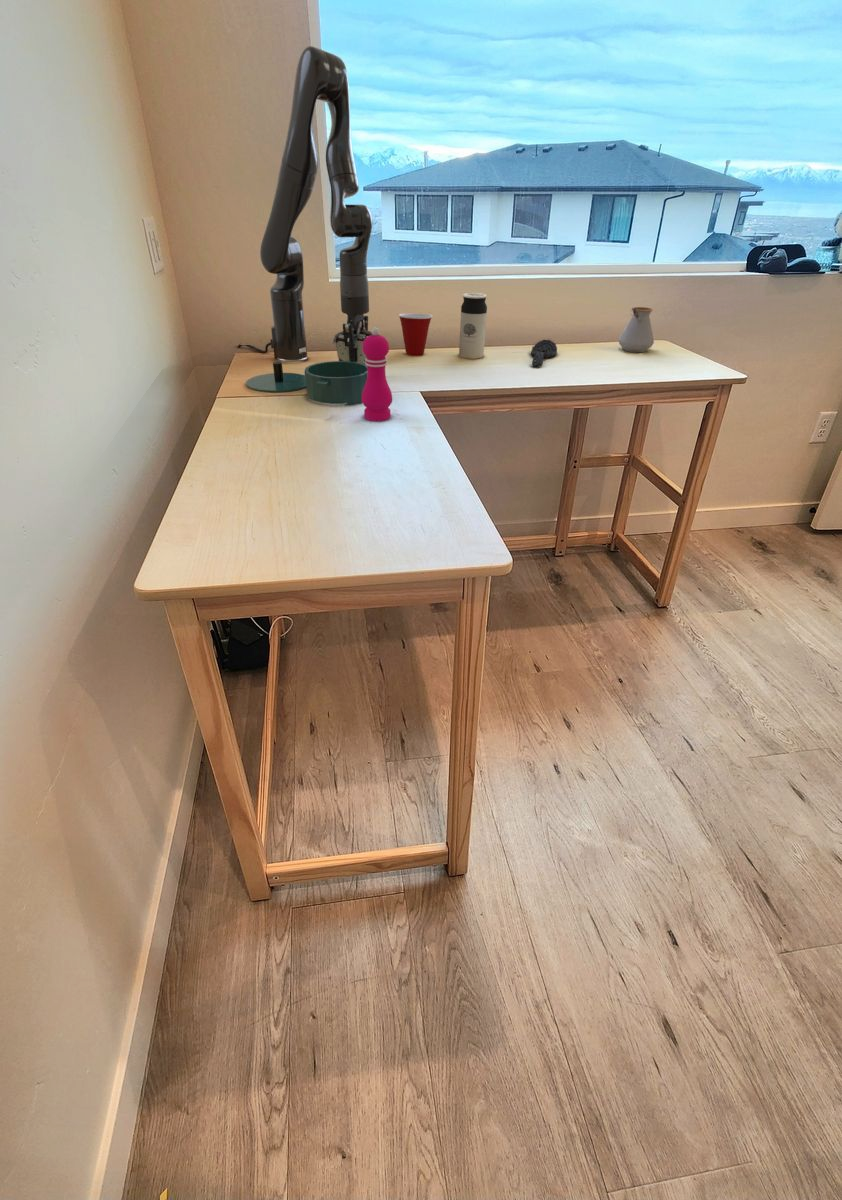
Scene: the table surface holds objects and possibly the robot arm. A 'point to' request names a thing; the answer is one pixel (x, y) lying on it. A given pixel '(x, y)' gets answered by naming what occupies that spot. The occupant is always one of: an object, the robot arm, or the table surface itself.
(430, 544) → the table surface
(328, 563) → the table surface
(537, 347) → the hairbrush
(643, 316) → the coffee pot
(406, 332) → the plastic cup
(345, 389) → the pot
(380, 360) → the pepper mill
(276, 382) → the pot lid
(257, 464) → the table surface
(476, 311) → the travel mug
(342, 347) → the food container
